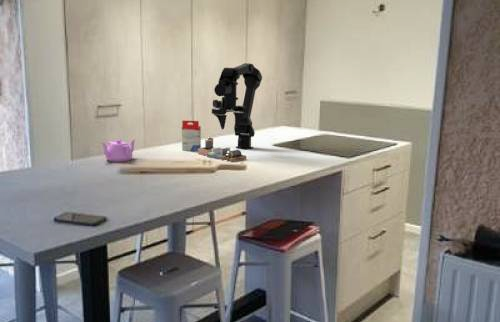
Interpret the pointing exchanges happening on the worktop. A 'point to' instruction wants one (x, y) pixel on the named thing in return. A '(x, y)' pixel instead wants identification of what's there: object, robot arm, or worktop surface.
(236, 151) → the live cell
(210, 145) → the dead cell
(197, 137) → the ink box
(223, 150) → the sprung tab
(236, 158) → the trough
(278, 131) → the worktop surface
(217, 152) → the grey flat block
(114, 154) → the teapot
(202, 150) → the salmon pink square tray
